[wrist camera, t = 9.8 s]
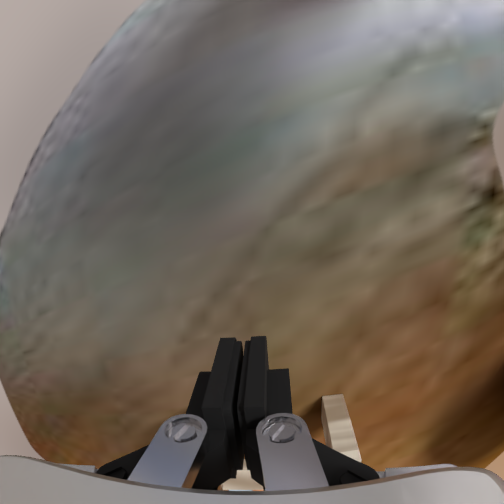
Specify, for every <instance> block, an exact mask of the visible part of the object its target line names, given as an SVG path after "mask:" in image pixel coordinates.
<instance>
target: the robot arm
mask: <svg viewBox="0 0 504 504" xmlns="http://www.w3.org/2000/svg"><path fill="white" fill-rule="evenodd" d="M244 455H245V461H246V467H247V470H250V473H251V478H252V479H253V480H255V481H256V482H257V483H259V484H260V485H261V486H263V491H223V483H224V482H226V481H227V480H229V479H236V475H237V470H243V462H244ZM0 504H504V480H502V478H500V477H499V476H498V475H497V474H495V473H493V472H492V471H489V470H486V469H483V468H476V467H457V466H454V465H452V464H439V465H429V466H418V467H403V468H386V470H385V472H376V471H375V470H374V469H372V468H371V467H369V466H367V465H365V464H363V463H361V462H359V461H356V460H354V459H352V458H350V457H348V456H346V455H344V454H342V453H340V452H338V451H336V450H334V449H332V448H330V447H328V446H326V445H324V444H322V443H320V442H318V441H316V440H314V439H312V438H311V435H310V432H309V430H308V427H307V424H306V423H305V421H304V420H303V419H302V418H300V417H299V416H296V415H294V414H292V402H291V391H290V379H289V369H273V370H269V365H268V353H267V340H266V336H256V337H251V341H246V342H245V349H244V356H243V348H242V342H241V341H236V338H220V341H219V345H218V349H217V352H216V356H215V360H214V363H213V367H212V370H211V372H200V373H199V375H198V378H197V381H196V384H195V387H194V390H193V393H192V396H191V399H190V403H189V406H188V409H187V412H186V414H182V415H176V416H174V417H171V418H169V419H168V420H166V421H165V422H164V423H163V424H162V425H161V427H160V428H159V430H158V432H157V433H156V435H155V436H154V438H153V440H152V441H151V443H150V444H149V445H147V446H145V447H143V448H141V449H139V450H137V451H135V452H132V453H130V454H128V455H126V456H123V457H121V458H119V459H116V460H114V461H112V462H109V463H107V464H105V465H103V466H102V467H100V468H99V469H97V468H96V467H95V466H86V465H69V464H57V463H53V462H49V461H45V460H41V459H36V458H31V457H25V456H17V455H15V456H14V455H13V456H12V455H4V456H0Z"/></svg>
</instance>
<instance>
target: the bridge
mask: <svg viewBox="0 0 504 504" xmlns="http://www.w3.org/2000/svg"><path fill="white" fill-rule="evenodd" d="M321 419H322V425H323V430H324V436H325V441H326V446H328V447H330V448H332V449H334V450H336V451H338V452H340V453H342V454H344V455H346V456H348V457H350V458H352V459H354V460H356V461H359V462H361V461H362V460H361V456H360V452H359V449H358V445H357V442H356V438H355V434H354V431H353V427H352V424H351V420H350V417H349V413H348V410H347V407H346V403H345V400H344V396H343V394H338V395H329V396H322V413H321ZM223 489H224V490H263V486H261V485H260V484H259V483H257V482H256V481H255V480H253V479H252V478H251V473H250V470H247V467H246V461H245V459H244V462H243V470H237V475H236V479H229V480H227V481H226V482H224V483H223Z"/></svg>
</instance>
